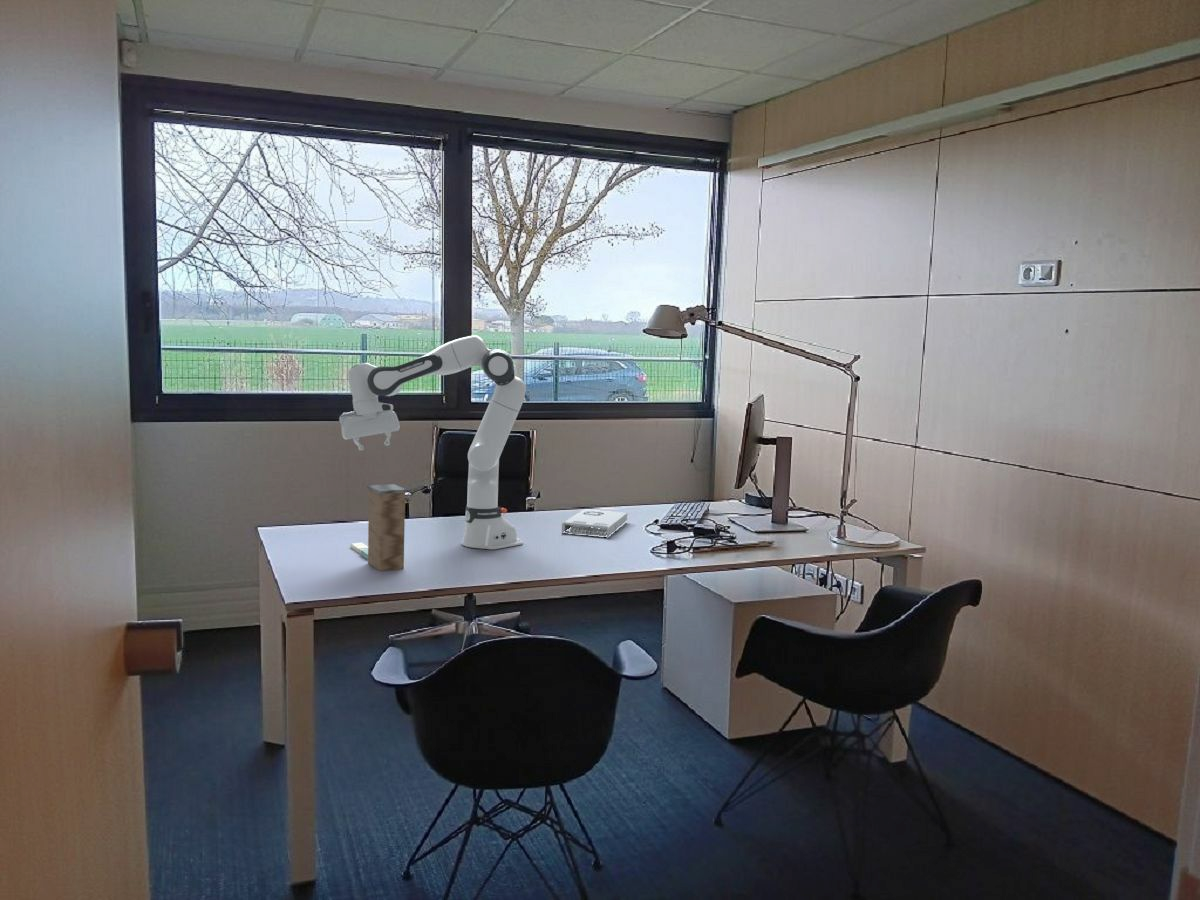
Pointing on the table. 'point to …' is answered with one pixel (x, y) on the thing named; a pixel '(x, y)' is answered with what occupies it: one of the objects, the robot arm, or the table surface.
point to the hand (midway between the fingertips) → (374, 447)
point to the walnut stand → (386, 526)
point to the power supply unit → (594, 522)
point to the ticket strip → (360, 549)
